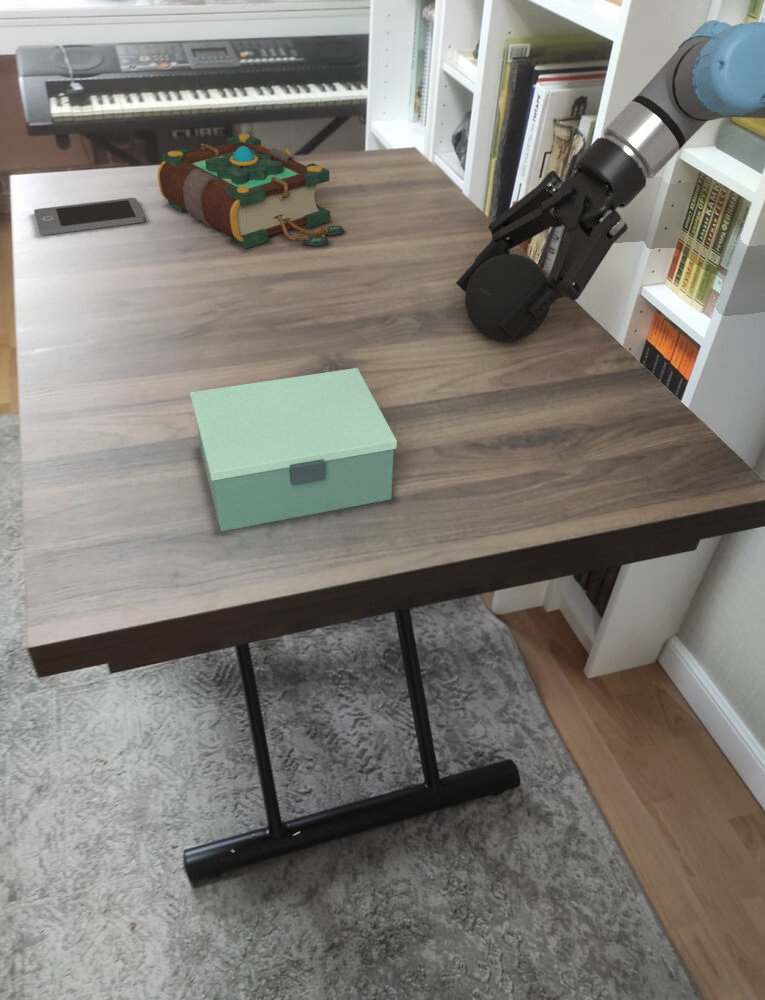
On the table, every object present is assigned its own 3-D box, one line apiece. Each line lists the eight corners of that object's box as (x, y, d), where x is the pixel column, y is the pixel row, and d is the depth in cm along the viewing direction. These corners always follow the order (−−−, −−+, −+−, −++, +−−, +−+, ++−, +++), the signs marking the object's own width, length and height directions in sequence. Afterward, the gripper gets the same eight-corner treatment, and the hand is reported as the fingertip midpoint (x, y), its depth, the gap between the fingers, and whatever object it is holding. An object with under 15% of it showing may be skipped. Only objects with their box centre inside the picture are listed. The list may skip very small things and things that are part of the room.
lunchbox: (355, 422, 87) (356, 365, 83) (395, 503, 78) (398, 443, 73) (197, 448, 83) (189, 389, 79) (219, 537, 74) (211, 476, 69)
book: (375, 228, 124) (377, 159, 118) (260, 268, 113) (255, 195, 107) (269, 176, 139) (265, 113, 132) (157, 207, 128) (147, 140, 121)
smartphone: (136, 201, 129) (135, 196, 129) (146, 221, 123) (145, 217, 123) (34, 213, 125) (33, 208, 124) (40, 235, 119) (39, 230, 118)
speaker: (456, 351, 98) (464, 272, 92) (466, 311, 106) (474, 235, 99) (541, 362, 97) (555, 282, 90) (545, 320, 104) (558, 244, 98)
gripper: (703, 217, 87) (550, 374, 93) (584, 148, 103) (459, 285, 108) (675, 171, 82) (514, 340, 87) (554, 106, 98) (424, 252, 103)
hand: (484, 310), depth 98 cm, fingers closed on speaker, 10 cm apart
